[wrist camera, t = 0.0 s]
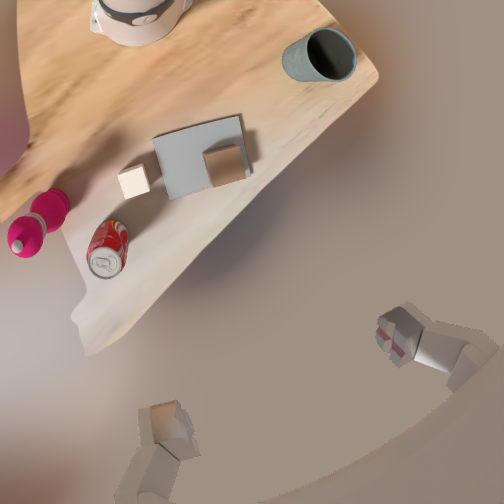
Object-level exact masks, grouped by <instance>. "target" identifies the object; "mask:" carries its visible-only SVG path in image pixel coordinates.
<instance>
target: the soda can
mask: <svg viewBox="0 0 504 504" xmlns="http://www.w3.org/2000/svg"><path fill="white" fill-rule="evenodd" d="M128 244H129V236H128V231H127V229H126V228H125V226H124V225H123V224H121V223H120V222H118V221H114V220H109V221H105V222H103V223H102V224H101V225H100V226H99V227H98V228H97V230H96V231H95V233H94V235H93V238H92V240H91V242H90V245H89V247H88V251H87V263H88V266H89V269H90V271H91V272H92V273H93V274H94V275H95V276H96V277H98V278H100V279H111V278H114V277H115V276H117V275H118V274H119V273H120V272H121V271H122V270H123V268H124V266H125V263H126V258H127V252H128Z"/></svg>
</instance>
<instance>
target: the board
mask: <svg viewBox="0 0 504 504" xmlns="http://www.w3.org/2000/svg"><path fill="white" fill-rule="evenodd" d="M152 140H153V144H154V148H155V151H156V155H157V158H158V162H159V166H160V169H161V172H162V176H163V179H164V183H165V186H166V189H167V193H168V196H169V199H170V201H171V200H174V199H177V198H180V197H183V196H186V195H189V194H192V193H196V192H199V191H202V190H205V189H209V188H212V187H213V186H212V185H211V184H210V182H209V178H208V174H207V170H206V166H205V162H204V158H203V154H202V152H205V151H209V150H212V149H216V148H220V147H223V146H227V145H231V144H235V145H238V146H240V150H241V155H242V160H243V165H244V169H245V174H246V177H250V176H251V174H250V169H249V164H248V159H247V155H246V150H245V145H244V140H243V135H242V131H241V126H240V121H239V116H235V117H230V118H226V119H221V120H217V121H213V122H209V123H205V124H201V125H197V126H194V127H190V128H186V129H183V130H179V131H176V132H173V133H169V134H166V135H163V136H159V137H156V138H153V139H152Z"/></svg>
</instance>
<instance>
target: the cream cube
mask: <svg viewBox="0 0 504 504" xmlns="http://www.w3.org/2000/svg"><path fill="white" fill-rule="evenodd" d="M118 179H119V182H120V185H121V188H122V191H123V194H124V196H125V199H129V198H132V197H134V196H137V195H140V194H143V193H146V192H149V191H150V184H149V180H148V177H147V174H146V170H145V167H144V164H143V163H141V164H138V165H136V166H133V167H130V168H127V169H124V170H122V171H120V172H119V174H118Z"/></svg>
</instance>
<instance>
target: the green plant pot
mask: <svg viewBox="0 0 504 504" xmlns="http://www.w3.org/2000/svg"><path fill="white" fill-rule="evenodd" d="M356 64H357V57H356V52H355V49H354V47H353V45H352V43H351V42H350V40H349V39H348V38H347V37H346V36H345V35H344V34H343V33H341V32H340V31H338V30H336V29H333V28H327V27H324V28H318V29H316V30H314V31H312V32H311V33H309V34H308V35H306V36H305V37H304V38H302V39H300V40H298V41H297V42H295V43H294V44H292V45H290V46H289V47H288V48H287V49H286V50H285V51H284V53H283V56H282V65H283V68H284V70H285V72H286V73H287V74H288V75H289V76H290V77H291V78H292V79H295V80H297V81H301V82H310V81H313V82H316V81H331V82H340V81H344V80H346V79H348V78H349V77H350V76H351V75H352V74H353V72H354V71H355V68H356Z"/></svg>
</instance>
